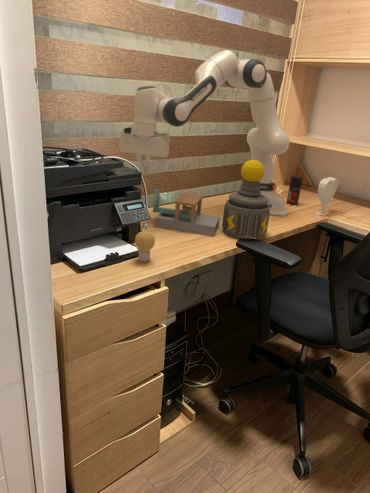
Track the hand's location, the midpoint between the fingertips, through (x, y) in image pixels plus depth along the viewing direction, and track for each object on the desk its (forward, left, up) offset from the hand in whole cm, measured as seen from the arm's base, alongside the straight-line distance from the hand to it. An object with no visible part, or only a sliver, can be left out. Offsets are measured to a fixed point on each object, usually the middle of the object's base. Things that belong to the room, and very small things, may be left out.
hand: (143, 165), depth 154 cm
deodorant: (-65, -60, -23) cm, 91 cm away
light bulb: (-15, +39, -23) cm, 48 cm away
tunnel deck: (-20, 0, -23) cm, 31 cm away
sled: (-14, 0, -19) cm, 23 cm away
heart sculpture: (-80, -51, -23) cm, 98 cm away
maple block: (-20, 0, -19) cm, 28 cm away
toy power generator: (-44, -3, -23) cm, 50 cm away
